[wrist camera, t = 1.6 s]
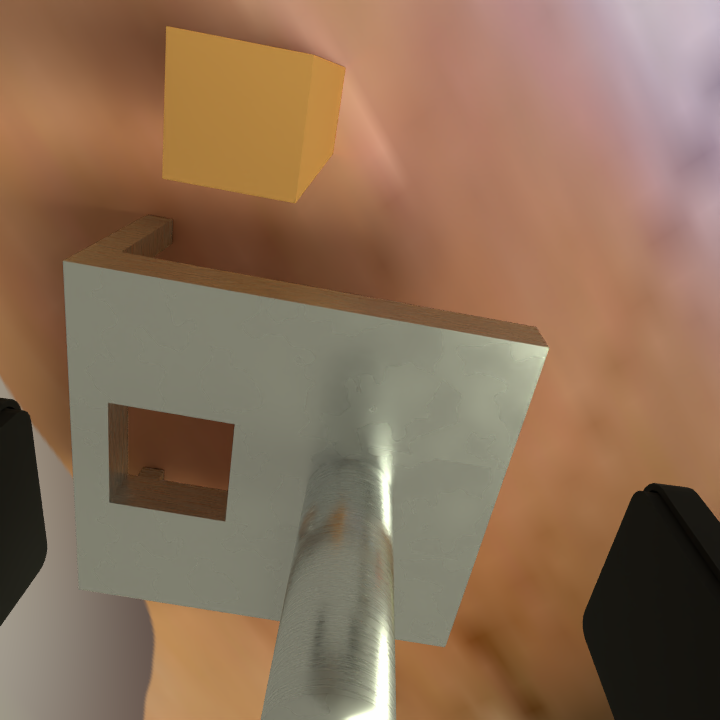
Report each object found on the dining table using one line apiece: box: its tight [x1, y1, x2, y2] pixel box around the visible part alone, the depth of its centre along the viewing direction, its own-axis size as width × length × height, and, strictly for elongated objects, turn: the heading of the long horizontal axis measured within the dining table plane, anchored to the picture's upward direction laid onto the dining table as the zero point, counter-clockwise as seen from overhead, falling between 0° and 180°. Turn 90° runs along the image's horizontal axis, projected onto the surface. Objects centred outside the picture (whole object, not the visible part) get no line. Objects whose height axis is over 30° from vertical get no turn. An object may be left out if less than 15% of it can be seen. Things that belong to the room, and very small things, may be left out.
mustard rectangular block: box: [162, 26, 345, 203], centre depth 20 cm, size 4×4×12 cm
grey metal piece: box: [63, 215, 549, 720], centre depth 23 cm, size 16×18×18 cm
